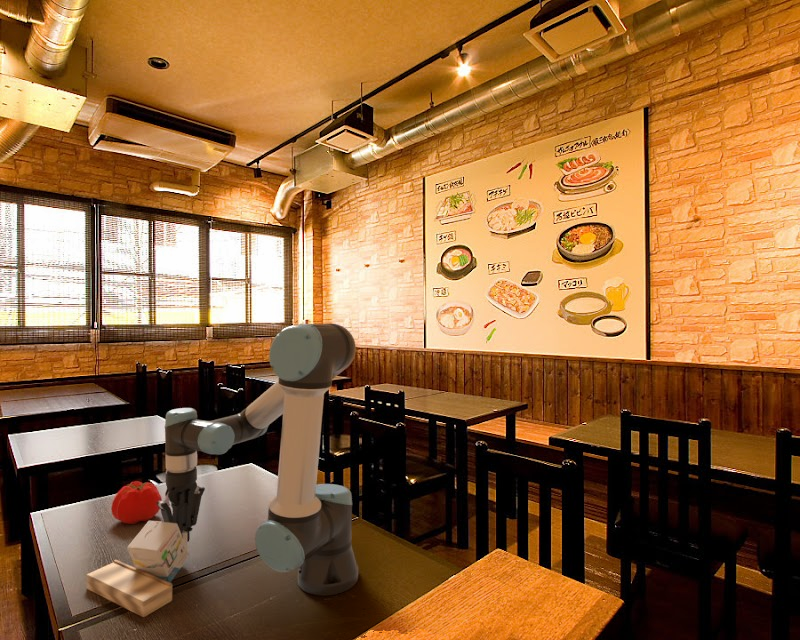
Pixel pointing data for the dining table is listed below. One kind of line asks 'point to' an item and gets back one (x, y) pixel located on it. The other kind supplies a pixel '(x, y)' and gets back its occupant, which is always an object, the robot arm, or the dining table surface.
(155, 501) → the tomato
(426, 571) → the dining table surface
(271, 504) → the robot arm
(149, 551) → the ink box
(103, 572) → the plank
